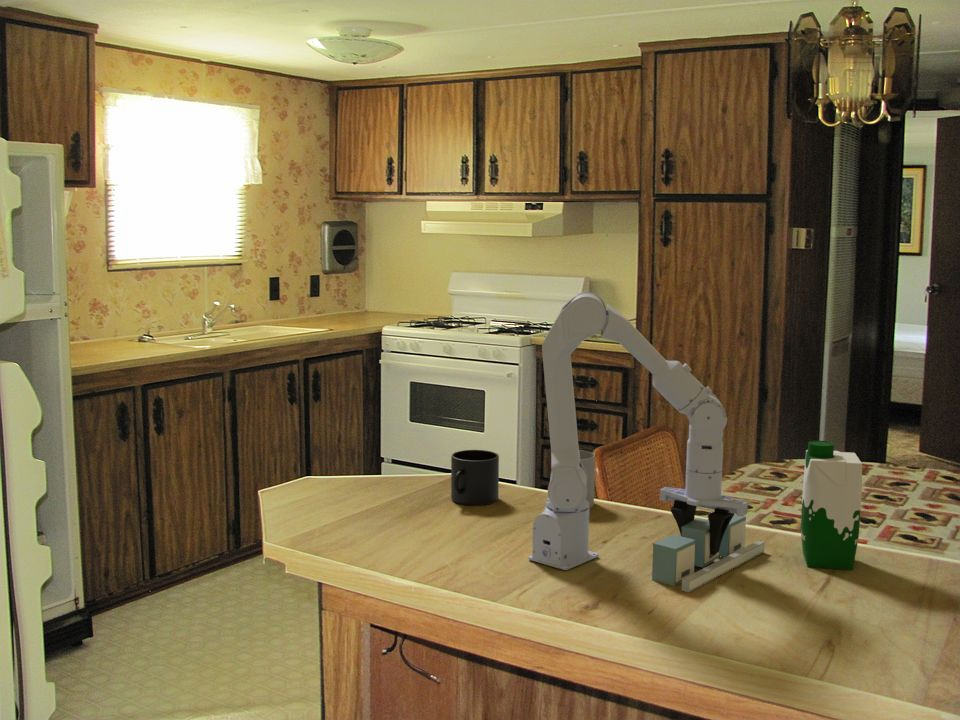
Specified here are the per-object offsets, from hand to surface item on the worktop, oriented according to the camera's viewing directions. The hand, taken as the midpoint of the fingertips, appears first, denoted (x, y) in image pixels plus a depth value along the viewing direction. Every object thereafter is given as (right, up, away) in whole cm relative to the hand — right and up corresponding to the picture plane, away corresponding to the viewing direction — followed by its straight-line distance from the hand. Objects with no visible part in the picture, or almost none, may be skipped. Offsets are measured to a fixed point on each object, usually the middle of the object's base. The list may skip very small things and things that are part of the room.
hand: (700, 549), depth 169 cm
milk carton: (+22, -3, +2) cm, 22 cm away
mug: (-38, +3, +36) cm, 52 cm away
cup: (-18, +3, +34) cm, 39 cm away
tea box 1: (-6, -3, -6) cm, 9 cm away
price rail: (+3, -3, -3) cm, 5 cm away
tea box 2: (0, -2, 0) cm, 2 cm away
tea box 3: (+6, -2, +7) cm, 9 cm away
